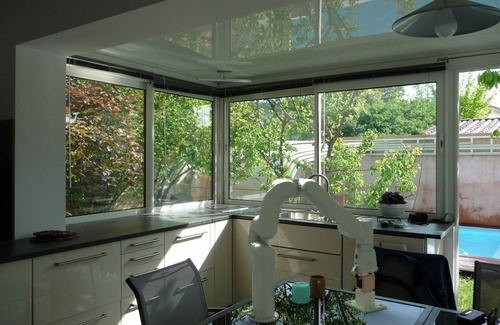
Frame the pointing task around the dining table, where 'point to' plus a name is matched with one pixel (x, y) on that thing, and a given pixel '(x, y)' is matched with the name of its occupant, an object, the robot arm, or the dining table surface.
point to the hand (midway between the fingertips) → (364, 286)
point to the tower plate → (365, 309)
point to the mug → (317, 286)
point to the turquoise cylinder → (300, 293)
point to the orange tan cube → (367, 282)
